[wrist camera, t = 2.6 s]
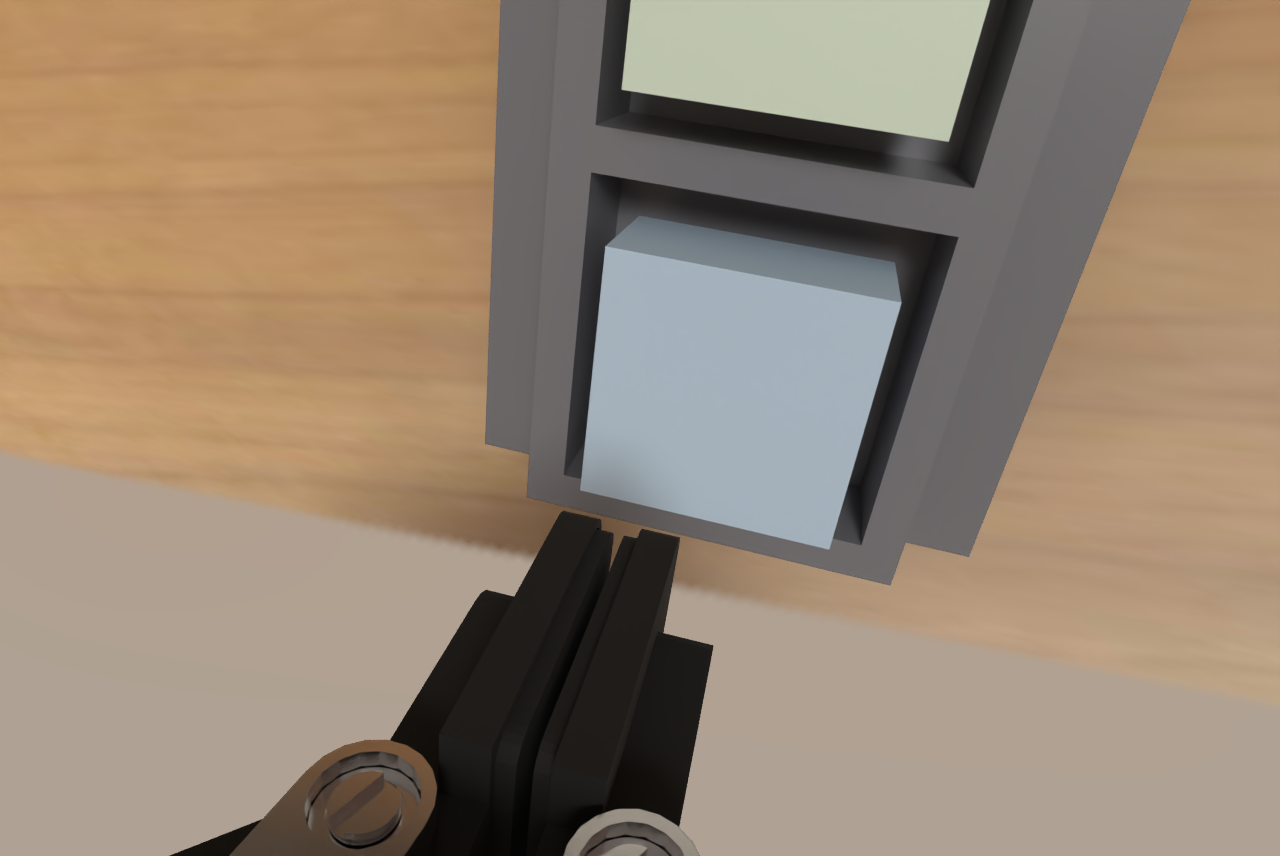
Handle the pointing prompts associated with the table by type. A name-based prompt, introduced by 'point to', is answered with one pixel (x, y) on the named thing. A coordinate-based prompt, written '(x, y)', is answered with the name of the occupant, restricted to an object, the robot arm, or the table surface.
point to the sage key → (811, 58)
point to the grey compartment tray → (820, 244)
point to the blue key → (734, 376)
